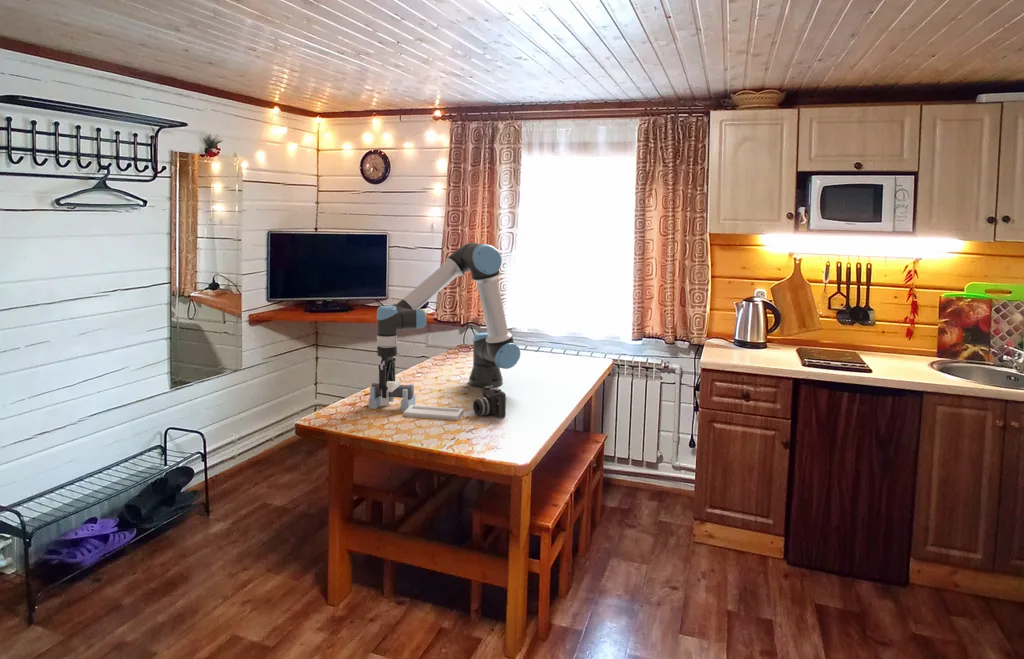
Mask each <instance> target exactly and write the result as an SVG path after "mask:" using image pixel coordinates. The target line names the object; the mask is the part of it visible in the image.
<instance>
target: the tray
mask: <svg viewBox="0 0 1024 659" xmlns="http://www.w3.org/2000/svg"><path fill="white" fill-rule="evenodd" d="M402 412H403V417H409V418H422V419H423V418H424V419H435V420H436V419H437V420H446V421H447V420H449V421H459V419H460V418H461V416H463V414H464V408H460V407H458V408H457V407H445V406H442V407H441V406H430V405H417V404H415V405H411V406H409V407H408V408H407V409H406V410H405V411H402Z"/></svg>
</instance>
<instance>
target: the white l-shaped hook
mask: <svg viewBox="0 0 1024 659" xmlns="http://www.w3.org/2000/svg"><path fill="white" fill-rule="evenodd" d="M400 385H401V380H398V379H395V381H388V382H387V387H388V392H393V391H394V390H395V389H396V388H398V387H399V386H400Z"/></svg>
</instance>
